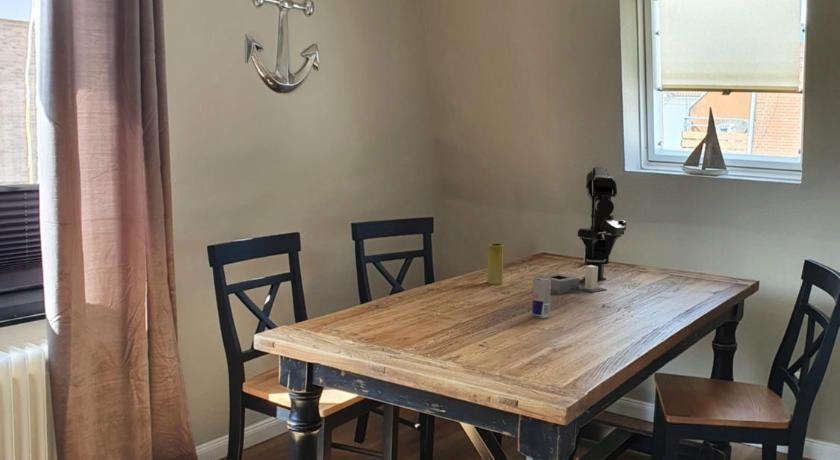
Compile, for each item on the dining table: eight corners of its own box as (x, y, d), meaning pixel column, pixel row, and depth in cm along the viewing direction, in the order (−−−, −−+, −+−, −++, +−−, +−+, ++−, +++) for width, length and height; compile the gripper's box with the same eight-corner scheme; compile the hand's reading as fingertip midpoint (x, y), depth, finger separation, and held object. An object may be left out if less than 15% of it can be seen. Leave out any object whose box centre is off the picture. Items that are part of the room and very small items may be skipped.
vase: (503, 281, 315) (504, 243, 313) (503, 285, 309) (504, 246, 307) (486, 281, 316) (487, 242, 314) (486, 284, 310) (487, 245, 308)
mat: (589, 286, 310) (589, 285, 310) (606, 290, 304) (606, 289, 304) (574, 288, 305) (574, 287, 305) (591, 293, 299) (591, 291, 299)
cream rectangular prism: (590, 287, 306) (591, 265, 305) (596, 288, 304) (598, 266, 303) (584, 288, 305) (585, 266, 303) (591, 289, 302) (592, 267, 301)
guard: (557, 285, 310) (558, 273, 309) (579, 290, 302) (579, 278, 302) (538, 289, 304) (538, 276, 303) (559, 294, 296) (560, 281, 295)
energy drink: (530, 314, 267) (531, 276, 265) (547, 314, 268) (548, 276, 266) (534, 318, 262) (535, 280, 260) (551, 318, 262) (552, 280, 261)
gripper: (602, 216, 289) (600, 262, 292) (637, 212, 301) (635, 256, 303) (577, 212, 298) (575, 257, 300) (612, 209, 310) (610, 252, 312)
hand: (599, 255), depth 304 cm, fingers open, 9 cm apart
